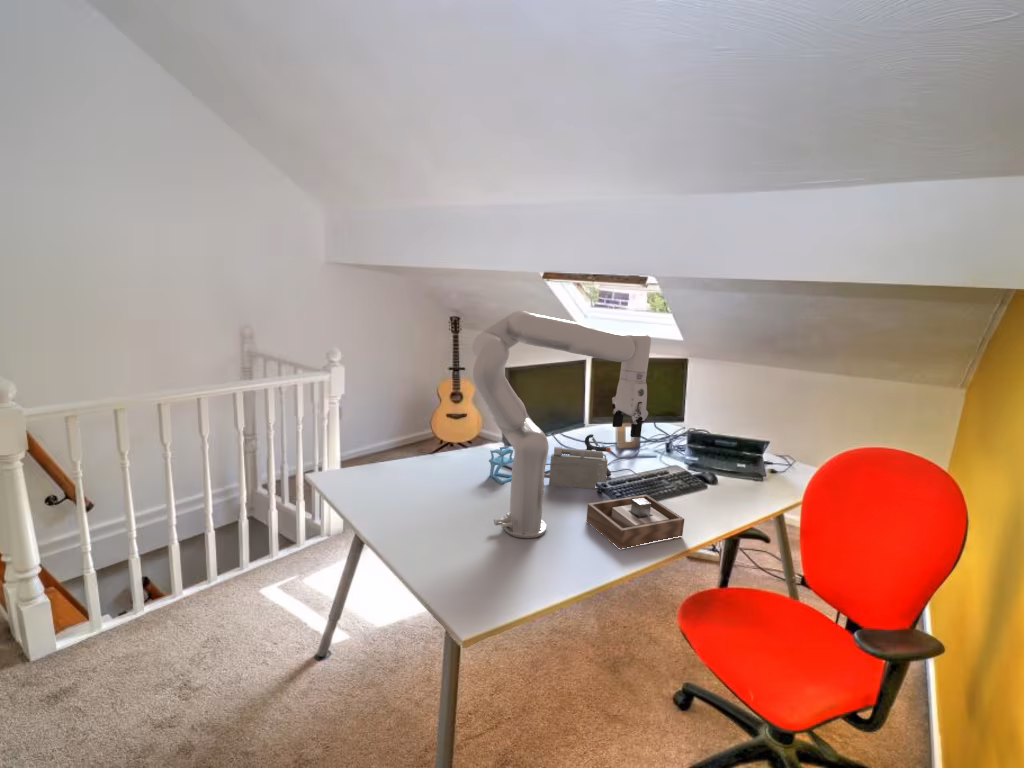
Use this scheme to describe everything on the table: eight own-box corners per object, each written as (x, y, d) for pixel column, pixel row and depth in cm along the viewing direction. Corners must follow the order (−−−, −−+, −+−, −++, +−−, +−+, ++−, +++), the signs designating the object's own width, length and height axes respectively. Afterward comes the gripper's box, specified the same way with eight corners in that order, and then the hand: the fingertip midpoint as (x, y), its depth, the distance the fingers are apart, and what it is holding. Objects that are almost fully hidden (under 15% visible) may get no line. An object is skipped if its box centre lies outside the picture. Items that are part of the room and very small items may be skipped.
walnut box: (619, 550, 153) (621, 530, 152) (586, 521, 169) (587, 503, 168) (682, 537, 162) (684, 519, 161) (644, 511, 178) (646, 494, 177)
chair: (498, 472, 206) (500, 441, 203) (516, 478, 200) (517, 447, 198) (485, 477, 200) (486, 446, 197) (502, 484, 195) (503, 452, 192)
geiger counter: (607, 448, 195) (537, 443, 197) (609, 454, 189) (536, 448, 191) (604, 485, 198) (535, 479, 200) (605, 492, 192) (534, 486, 194)
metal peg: (637, 529, 164) (640, 505, 162) (629, 523, 167) (632, 499, 165) (648, 527, 165) (651, 503, 163) (640, 521, 169) (643, 497, 167)
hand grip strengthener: (609, 478, 204) (613, 440, 201) (578, 470, 211) (581, 433, 207) (611, 476, 206) (615, 438, 203) (581, 469, 212) (584, 432, 209)
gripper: (661, 382, 154) (653, 440, 158) (627, 369, 170) (620, 422, 174) (639, 382, 151) (631, 441, 155) (606, 369, 167) (600, 423, 171)
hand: (626, 431), depth 164 cm, fingers open, 9 cm apart
